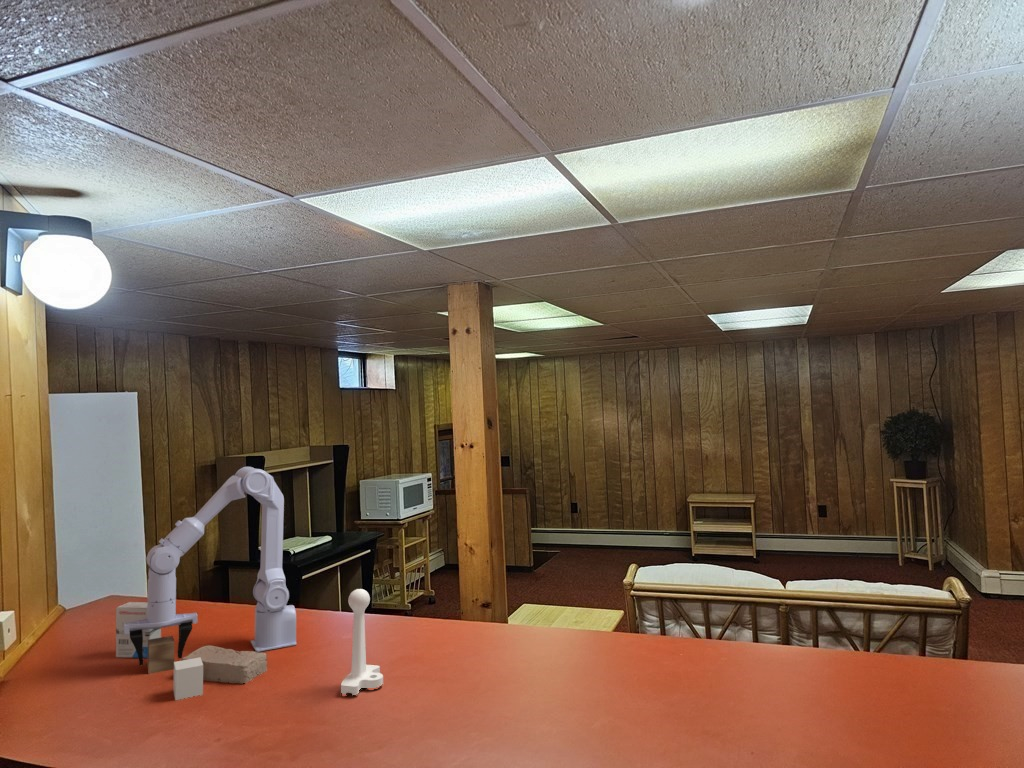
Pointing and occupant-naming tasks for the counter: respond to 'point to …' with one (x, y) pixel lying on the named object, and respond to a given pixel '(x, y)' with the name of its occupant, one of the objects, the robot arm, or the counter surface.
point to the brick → (229, 664)
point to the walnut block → (160, 654)
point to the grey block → (188, 678)
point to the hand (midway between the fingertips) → (160, 660)
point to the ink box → (123, 641)
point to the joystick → (360, 650)
